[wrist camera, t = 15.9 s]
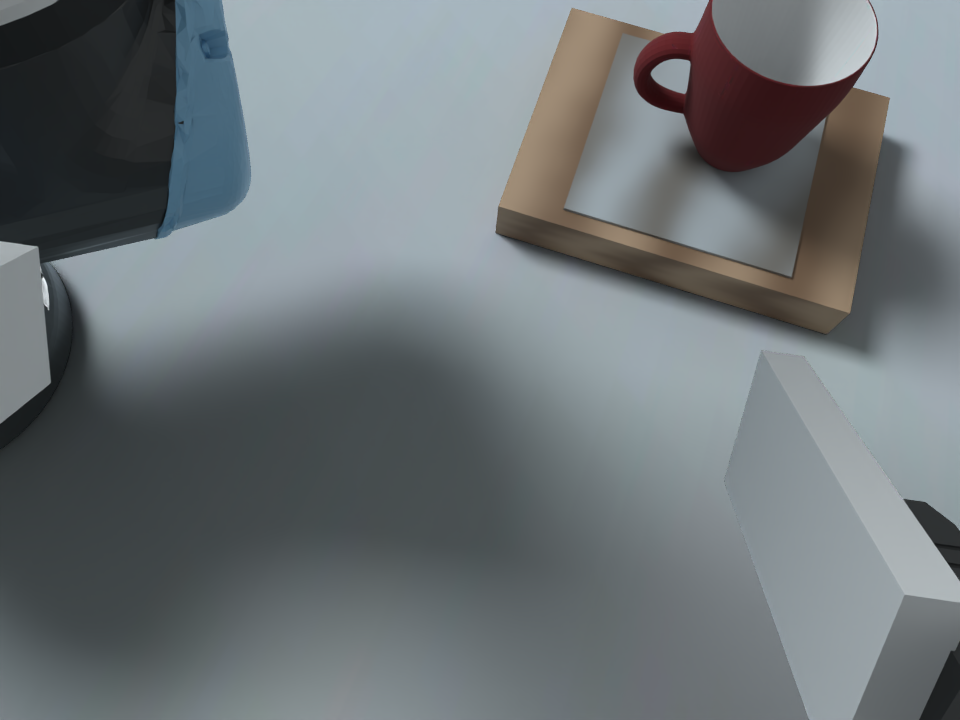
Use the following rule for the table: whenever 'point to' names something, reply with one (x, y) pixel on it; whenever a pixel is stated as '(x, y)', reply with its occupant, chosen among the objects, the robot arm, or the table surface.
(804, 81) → the mug
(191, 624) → the table surface
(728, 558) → the table surface
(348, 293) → the table surface
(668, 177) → the plinth
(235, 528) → the table surface
